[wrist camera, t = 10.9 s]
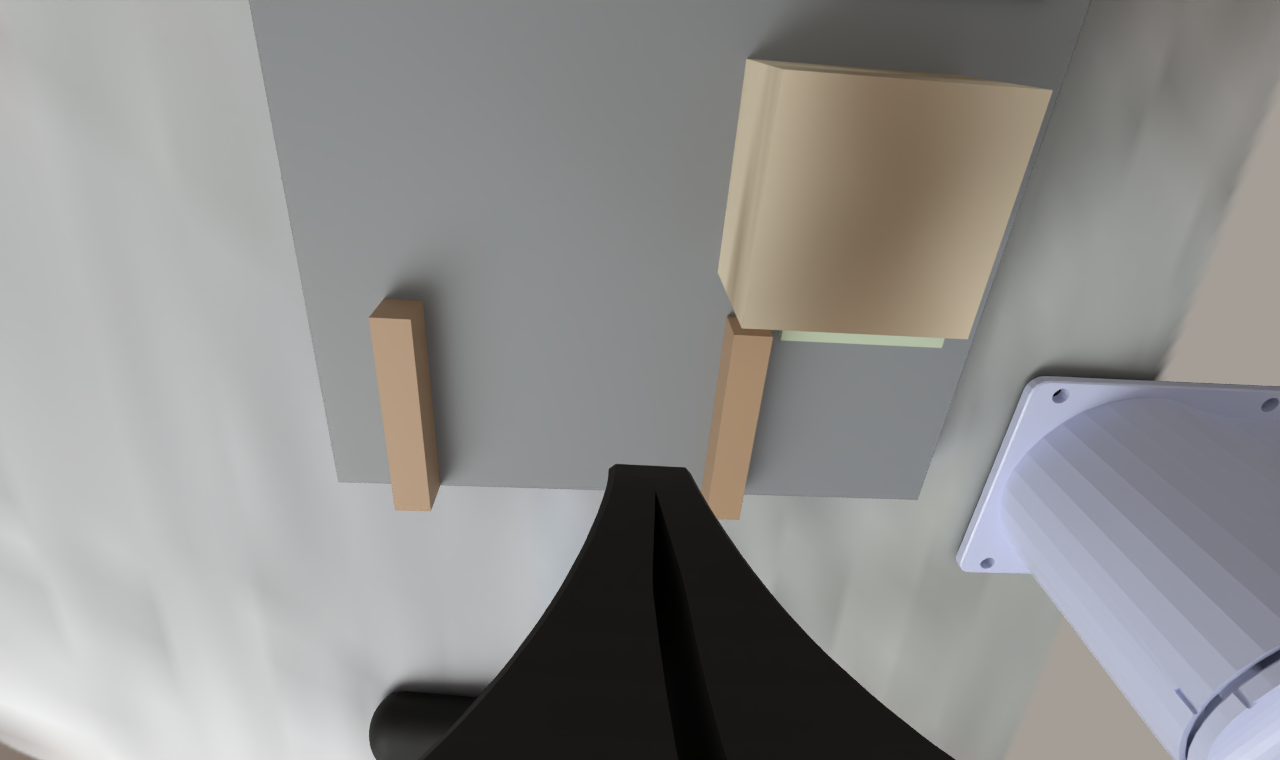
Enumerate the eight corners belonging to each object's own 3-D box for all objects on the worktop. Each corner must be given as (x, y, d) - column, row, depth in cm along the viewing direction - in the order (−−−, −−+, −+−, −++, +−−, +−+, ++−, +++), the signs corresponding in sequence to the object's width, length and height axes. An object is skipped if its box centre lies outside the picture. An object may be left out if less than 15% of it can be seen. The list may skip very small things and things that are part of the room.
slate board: (1247, -609, 11) (1416, -775, 9) (899, 471, 22) (933, 525, 20) (149, -785, 10) (8, -1033, 8) (355, 453, 21) (323, 508, 19)
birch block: (962, 75, 15) (1053, 90, 12) (904, 282, 17) (967, 339, 14) (746, 58, 15) (783, 69, 12) (717, 272, 17) (741, 328, 14)
